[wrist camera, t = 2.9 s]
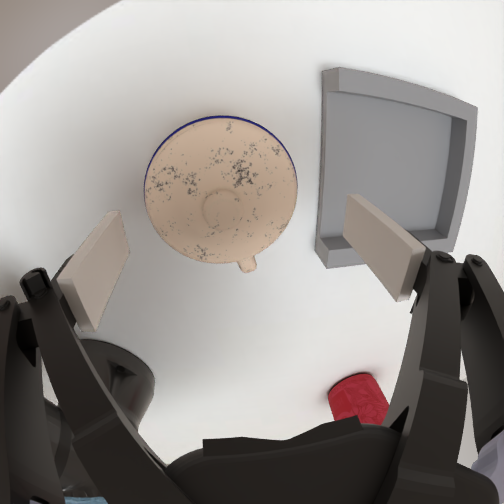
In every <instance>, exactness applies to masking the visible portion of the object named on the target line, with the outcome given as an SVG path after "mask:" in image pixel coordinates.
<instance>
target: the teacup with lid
mask: <svg viewBox="0 0 504 504" xmlns="http://www.w3.org/2000/svg"><path fill="white" fill-rule="evenodd" d="M297 186H298V185H297V176H296V171H295V167H294V164H293V162H292V159H291V157H290V155H289V153H288V151H287V150H286V148H285V147H284V146H283V144H282V143H281V142H280V141H279V140H278V138H276V137H275V136H274V135H273V134H272V133H271V132H270V131H268V130H267V129H265V128H264V127H262V126H261V125H259V124H257V123H255V122H252V121H250V120H247V119H244V118H239V117H234V116H210V117H205V118H201V119H198V120H195V121H192V122H190V123H187V124H186V125H184V126H182V127H180V128H179V129H177V130H176V131H174V132H173V133H172V134H171V135H169V136H168V137H167V138H166V139H165V140H164V141H163V142H162V143H161V145H160V146H159V147H158V148H157V150H156V152H155V153H154V155H153V157H152V159H151V161H150V163H149V165H148V168H147V171H146V175H145V181H144V200H145V206H146V210H147V213H148V216H149V218H150V221H151V223H152V225H153V226H154V228H155V230H156V231H157V233H158V234H159V235H160V237H161V238H162V239H163V240H164V241H165V242H166V243H167V244H168V245H169V246H171V247H172V248H173V249H175V250H176V251H177V252H179V253H181V254H183V255H185V256H187V257H189V258H192V259H195V260H198V261H202V262H207V263H231V262H237V263H238V265H239V267H240V269H241V271H242V272H244V273H248V272H251V271H254V270H255V269H256V266H257V264H256V261H255V257H254V255H256V254H258V253H260V252H261V251H263V250H264V249H266V248H267V247H268V246H270V245H271V244H272V243H273V242H274V241H275V240H276V239H277V238H278V237H279V236H280V235H281V234H282V232H283V231H284V229H285V228H286V226H287V225H288V223H289V221H290V219H291V217H292V214H293V212H294V209H295V204H296V199H297Z"/></svg>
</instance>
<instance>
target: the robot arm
mask: <svg viewBox="0 0 504 504" xmlns="http://www.w3.org/2000/svg"><path fill="white" fill-rule="evenodd" d="M343 237H344V238H345V239H346V240H347V241H348V242H349V244H350V245H351V246H352V247H353V248H354V250H355V251H356V252H357V253H358V254H359V256H360V257H361V258H362V259H363V260H364V262H365V263H366V264H367V265H368V267H369V268H370V269H371V270H372V272H373V273H374V274H375V275H376V277H377V278H378V279H379V280H380V282H381V283H382V284H383V285H384V287H385V288H386V289H387V291H388V292H389V293H390V295H391V296H392V297H393V298H394V300H395V301H396V302H401V301H405V300H409V298H410V296H411V293H412V290H413V289H414V290H415V291H416V293H417V296H416V299H415V301H414V304H413V306H412V309H411V311H410V313H411V314H412V313H413V314H412V320H411V325H410V330H409V335H408V340H407V344H406V348H405V353H404V357H403V361H402V365H401V369H400V372H399V376H398V379H397V383H396V386H395V390H394V393H393V396H392V399H391V402H390V405H389V408H388V411H387V414H386V416H385V419H384V421H383V422H382V424H381V425H377V424H369V423H360V420H359V418H358V415H355V416H351V417H348V418H344V419H340V420H337V421H333V422H328V423H324V424H321V425H319V426H317V427H315V428H313V429H311V430H309V431H307V432H304V433H302V434H300V435H298V436H295V437H293V438H291V439H288V440H268V439H257V438H248V437H235V438H220V439H203V448H202V449H198V450H195V451H192V452H189V453H187V454H185V455H183V456H181V457H179V458H178V459H176V460H175V461H173V462H172V463H171V464H170V465H168V466H166V464H165V463H164V462H163V461H162V460H161V459H160V458H159V457H158V456H157V455H156V454H155V453H154V452H153V450H152V449H151V448H150V447H149V446H148V445H147V443H146V442H145V441H144V440H143V438H142V437H141V436H140V435H139V433H138V427H139V424H140V422H141V420H142V418H143V416H144V414H145V412H146V410H147V408H148V406H149V404H150V402H151V401H152V398H153V395H154V386H155V380H154V376H153V374H152V372H151V371H150V369H149V368H148V367H147V366H146V365H145V364H144V363H143V362H142V361H141V360H140V359H138V358H137V357H135V356H134V355H132V354H131V353H129V352H127V351H125V350H123V349H121V348H119V347H116V346H114V345H111V344H108V343H104V342H100V341H94V340H79V338H78V336H77V334H76V333H75V331H74V329H73V328H74V325H75V323H76V322H77V324H78V326H79V328H80V330H81V332H96V330H97V328H98V325H99V322H100V320H101V317H102V315H103V312H104V310H105V307H106V305H107V303H108V300H109V298H110V295H111V293H112V291H113V289H114V286H115V284H116V282H117V279H118V277H119V275H120V273H121V271H122V269H123V266H124V264H125V262H126V260H127V258H128V256H129V254H130V251H129V247H128V243H127V239H126V235H125V231H124V226H123V222H122V218H121V213H120V210H119V211H112V212H108V213H107V214H106V215H105V216H104V218H103V219H102V220H101V221H100V222H99V224H98V225H97V226H96V227H95V228H94V230H93V231H92V232H91V233H90V235H89V236H88V237H87V238H86V240H85V241H84V242H83V243H82V245H81V246H80V247H79V249H78V250H77V251H76V253H75V254H73V255H72V256H70V257H69V258H68V259H67V260H66V261H65V262H64V263H63V265H62V267H60V269H59V270H58V272H57V273H56V274H55V276H54V277H53V279H52V280H51V282H50V279H49V277H48V275H47V272H46V270H45V269H44V268H36V269H33V270H31V271H29V272H28V273H26V274H25V275H24V276H23V277H22V278H21V280H20V286H21V288H22V290H23V292H24V294H25V296H26V298H27V300H28V302H24V303H21V304H18V303H17V301H16V299H15V297H14V296H6V297H4V298H2V299H1V300H0V504H502V503H503V502H504V292H503V290H502V288H501V286H500V285H499V283H498V281H497V279H496V278H495V276H494V274H493V273H492V271H491V269H490V268H489V266H488V264H487V263H486V262H485V261H484V260H483V259H482V258H481V257H480V256H477V255H472V254H469V255H467V256H466V258H465V261H464V263H456V261H455V259H454V258H453V257H452V256H451V255H449V254H448V253H445V252H443V251H433V252H432V251H431V250H430V249H429V248H428V247H427V246H426V245H424V244H423V243H422V242H421V241H419V239H417V238H416V237H415V236H414V235H413V234H412V233H410V232H409V231H407V230H405V229H403V228H402V227H401V226H400V225H399V224H397V223H396V222H395V221H394V220H392V219H391V218H390V217H389V216H387V215H386V214H385V213H383V212H382V211H381V210H380V209H378V208H377V207H376V206H374V205H373V204H372V203H370V202H369V201H368V200H366V199H365V198H364V197H362V196H361V195H360V194H348V195H347V204H346V213H345V221H344V229H343ZM461 351H462V355H463V360H464V365H465V370H466V375H467V381H468V385H467V383H466V382H464V381H461V380H460V379H459V377H460V359H461ZM41 355H42V358H43V362H44V365H45V368H46V371H47V373H48V376H49V379H50V382H51V384H52V387H53V390H54V392H55V395H56V397H57V400H58V406H56V405H55V404H53V403H52V402H50V401H49V400H47V399H46V398H45V397H44V396H43V384H42V364H41ZM468 387H469V393H470V400H471V408H472V418H473V428H474V437H475V442H476V448H477V452H478V460H476V461H475V462H474V463H473V465H472V467H471V469H470V468H467V467H465V466H463V465H461V464H459V463H457V459H458V455H459V450H460V445H461V440H462V434H463V428H464V421H465V414H466V405H467V394H468Z"/></svg>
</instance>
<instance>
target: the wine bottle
mask: <svg viewBox="0 0 504 504" xmlns="http://www.w3.org/2000/svg"><path fill="white" fill-rule="evenodd" d="M328 401H329V404H330V408H331V411H332V414H333V417H334V420H335V421H337V420H340V419H344V418H348V417H351V416H355V415H358V418H359V420H360V423H369V424H377V425H381V424H382V422H383V421H384V419H385V416H386V414H387V411H388V408H389V404H388V402H387V400H386V398H385V396H384V394H383V392H382V391H381V389H380V387H379V385H378V383H377V382H376V380H375V379H374V377H373V376H371V375H369V374H358V375H354V376H351V377H349V378H347V379H345V380H343V381H341V382H340V383H338V384H337V385H336V386H335V387H334V388H333V389H332V390H331V391H330V393H329V396H328Z"/></svg>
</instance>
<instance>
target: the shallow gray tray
mask: <svg viewBox="0 0 504 504" xmlns="http://www.w3.org/2000/svg"><path fill="white" fill-rule="evenodd" d="M477 110H478V107H476V106H473V105H471V104H469V103H466V102H464V101H462V100H459V99H457V98H454V97H451V96H449V95H446V94H443V93H441V92H438V91H435V90H432V89H429V88H426V87H423V86H420V85H416V84H413V83H409V82H406V81H402V80H399V79H395V78H391V77H387V76H382V75H378V74H373V73H369V72H364V71H358V70H353V69H347V68H341V67H338V68H333V69H329V70H326V71H322V150H321V173H320V191H319V207H318V220H317V232H316V243H315V252H316V253H317V255H318V256H319V258H320V259H321V261H322V263H323V264H324V266H325V267H326V269H329V268H338V267H346V266H354V265H362V264H366V263H365V262H364V260H363V259H362V258H361V257H360V256H359V254H358V253H357V252H356V251H355V250H354V248H353V247H352V246H351V245H350V244H349V242H348V241H347V240H346V239H345V238H344V237H343V229H344V221H345V213H346V204H347V195H348V194H360V195H361V196H362V197H364V198H365V199H366V200H368V201H369V202H370V203H372V204H373V205H374V206H376V207H377V208H378V209H380V210H381V211H382V212H383V213H385V214H386V215H387V216H389V217H390V218H391V219H392V220H394V221H395V222H396V223H397V224H399V225H400V226H401V227H402V228H403V229H405V230H407V231H409V232H410V233H412V234H413V235H414V236H415V237H416V238H417V239H419V241H421V242H422V243H423V244H424V245H426V246H427V247H428V248H429V249H430V250H431V251H432V252H433V251H443V252H445V253H448V252H453V249H454V246H455V243H456V239H457V236H458V232H459V228H460V225H461V221H462V217H463V212H464V208H465V204H466V199H467V194H468V189H469V184H470V178H471V172H472V165H473V158H474V150H475V141H476V129H477Z"/></svg>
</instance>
